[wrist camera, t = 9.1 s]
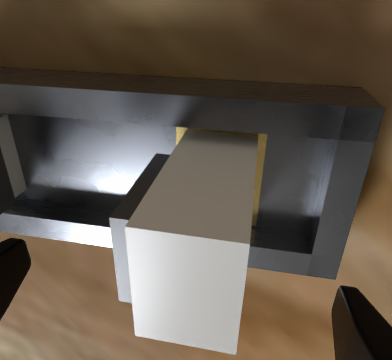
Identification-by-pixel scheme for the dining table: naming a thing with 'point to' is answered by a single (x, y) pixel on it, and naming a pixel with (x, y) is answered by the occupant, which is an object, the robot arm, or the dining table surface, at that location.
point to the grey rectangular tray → (166, 142)
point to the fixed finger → (9, 167)
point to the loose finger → (188, 240)
